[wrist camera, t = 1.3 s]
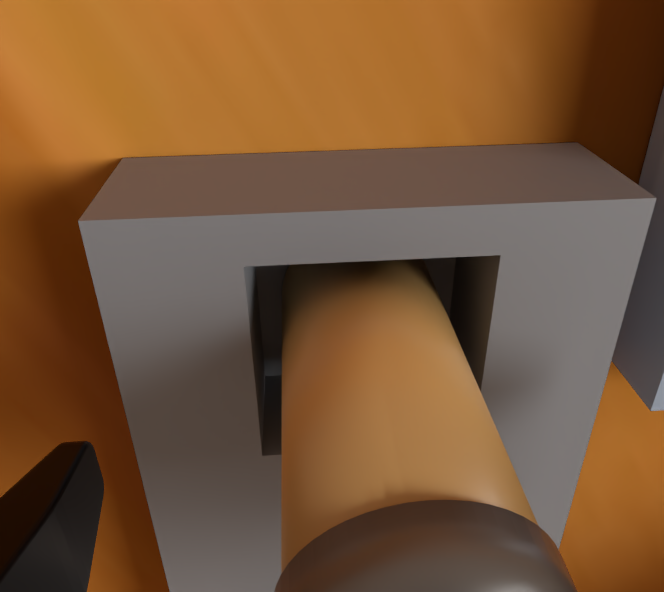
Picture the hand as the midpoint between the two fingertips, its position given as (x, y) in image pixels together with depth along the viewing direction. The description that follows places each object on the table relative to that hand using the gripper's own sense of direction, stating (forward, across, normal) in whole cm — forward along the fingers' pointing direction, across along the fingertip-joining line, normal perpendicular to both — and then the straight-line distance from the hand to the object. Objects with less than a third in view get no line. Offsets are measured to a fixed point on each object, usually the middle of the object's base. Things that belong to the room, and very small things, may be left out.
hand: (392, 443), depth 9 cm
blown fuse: (+4, 0, 0) cm, 4 cm away
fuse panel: (+5, 0, +4) cm, 6 cm away
